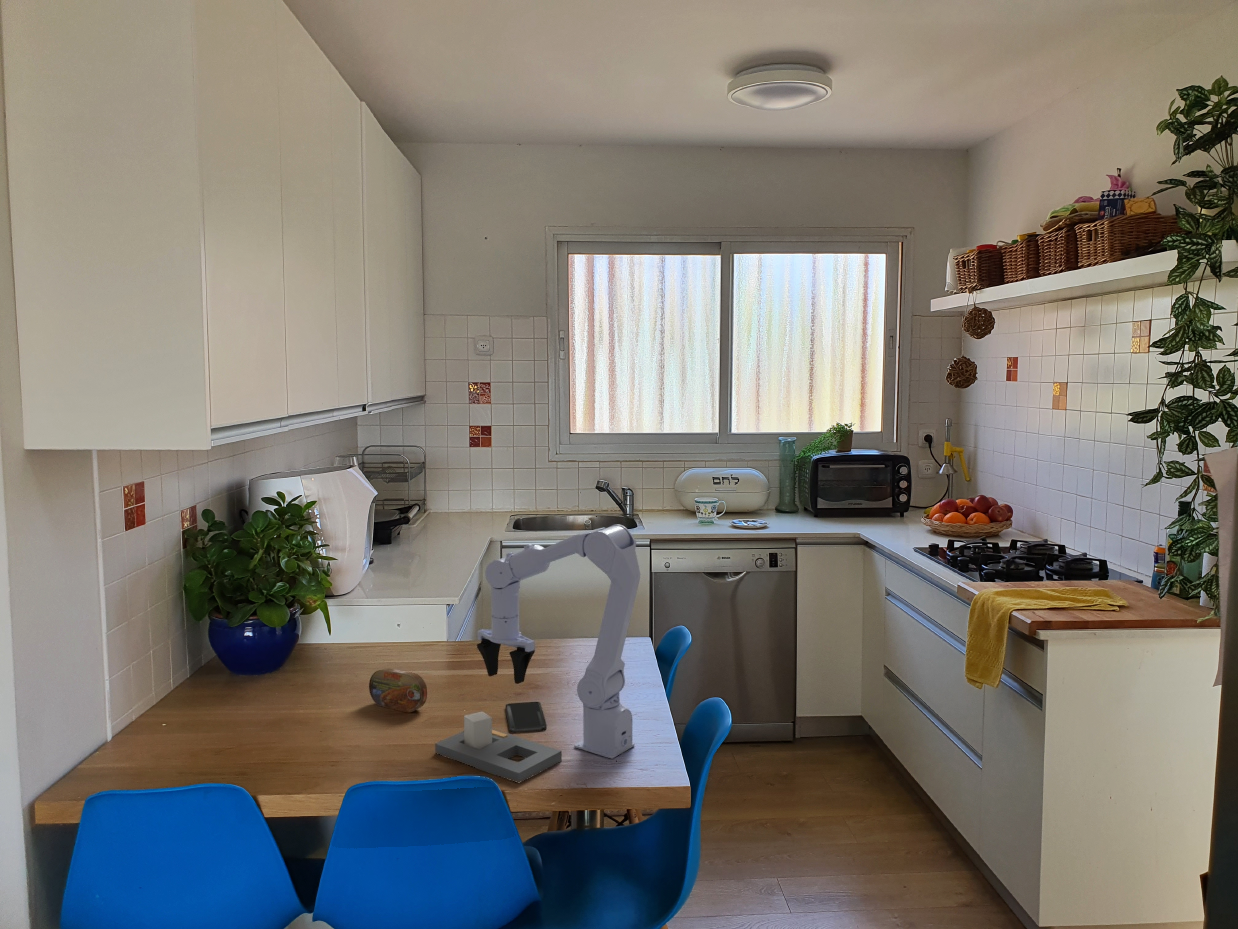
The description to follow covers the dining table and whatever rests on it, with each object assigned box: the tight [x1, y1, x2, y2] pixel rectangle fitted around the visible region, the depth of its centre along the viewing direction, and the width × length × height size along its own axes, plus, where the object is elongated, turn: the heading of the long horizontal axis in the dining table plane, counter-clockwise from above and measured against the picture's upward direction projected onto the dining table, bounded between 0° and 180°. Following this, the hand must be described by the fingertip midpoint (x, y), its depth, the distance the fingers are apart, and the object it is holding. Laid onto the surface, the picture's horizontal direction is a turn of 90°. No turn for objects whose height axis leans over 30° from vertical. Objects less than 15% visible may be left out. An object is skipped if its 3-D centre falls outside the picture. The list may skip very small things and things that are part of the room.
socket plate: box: [434, 728, 563, 782], centre depth 171 cm, size 22×12×2 cm, turn 54°
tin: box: [368, 668, 428, 713], centre depth 197 cm, size 15×3×8 cm, turn 62°
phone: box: [505, 701, 548, 734], centre depth 191 cm, size 8×1×15 cm
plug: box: [463, 711, 493, 749], centre depth 174 cm, size 4×4×7 cm
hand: (506, 678), depth 185 cm, fingers open, 7 cm apart
